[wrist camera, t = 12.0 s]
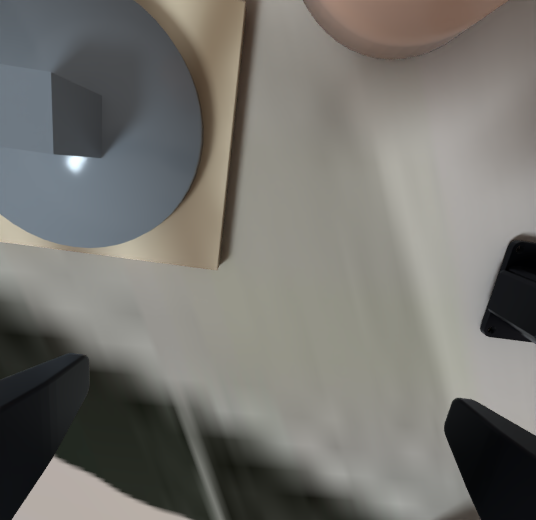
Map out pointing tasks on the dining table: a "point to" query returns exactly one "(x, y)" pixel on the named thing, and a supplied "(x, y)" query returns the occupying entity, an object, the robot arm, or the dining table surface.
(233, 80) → the board
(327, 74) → the dining table surface
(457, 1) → the bowl
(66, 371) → the robot arm
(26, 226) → the lid
